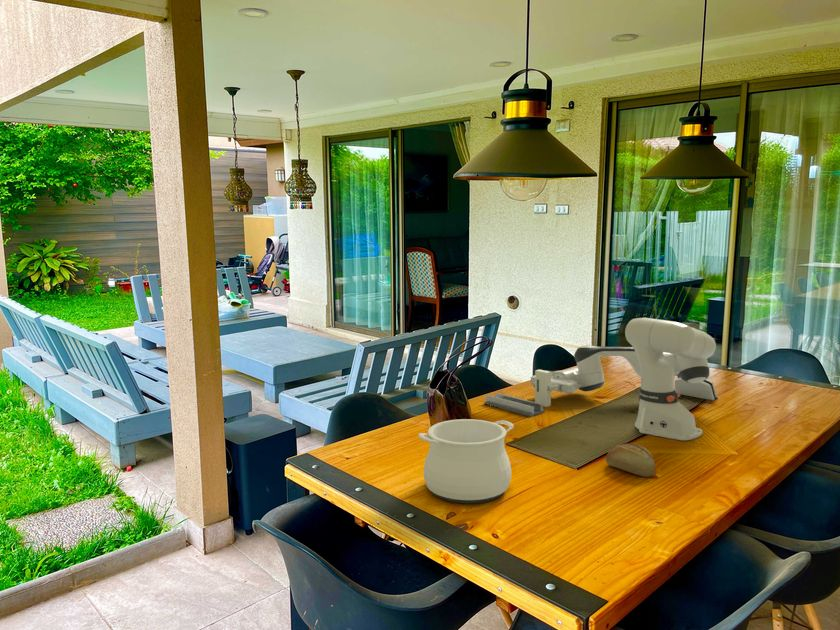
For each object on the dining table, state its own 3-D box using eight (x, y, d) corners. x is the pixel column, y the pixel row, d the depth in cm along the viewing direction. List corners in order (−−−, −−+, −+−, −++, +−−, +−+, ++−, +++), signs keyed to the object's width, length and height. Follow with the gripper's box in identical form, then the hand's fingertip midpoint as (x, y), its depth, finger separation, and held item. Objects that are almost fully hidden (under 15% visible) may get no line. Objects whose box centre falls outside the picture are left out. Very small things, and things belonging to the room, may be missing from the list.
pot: (440, 516, 164) (439, 450, 162) (404, 482, 187) (402, 423, 184) (534, 496, 175) (535, 434, 173) (489, 465, 198) (489, 410, 195)
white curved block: (718, 398, 267) (716, 377, 264) (713, 403, 265) (711, 383, 261) (679, 390, 280) (676, 370, 276) (674, 396, 277) (671, 376, 274)
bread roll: (615, 460, 201) (615, 435, 200) (661, 472, 190) (662, 446, 189) (599, 469, 194) (600, 443, 193) (647, 482, 184) (648, 455, 182)
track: (544, 412, 252) (544, 403, 251) (529, 417, 246) (529, 408, 245) (498, 400, 270) (498, 392, 269) (484, 404, 264) (484, 396, 263)
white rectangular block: (550, 405, 260) (551, 371, 258) (546, 407, 258) (546, 373, 256) (538, 402, 265) (539, 369, 263) (534, 404, 263) (534, 370, 261)
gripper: (583, 393, 262) (562, 399, 253) (543, 384, 277) (522, 390, 268) (583, 378, 261) (562, 384, 252) (543, 370, 276) (522, 375, 267)
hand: (541, 387), depth 260 cm, fingers closed on white rectangular block, 6 cm apart
